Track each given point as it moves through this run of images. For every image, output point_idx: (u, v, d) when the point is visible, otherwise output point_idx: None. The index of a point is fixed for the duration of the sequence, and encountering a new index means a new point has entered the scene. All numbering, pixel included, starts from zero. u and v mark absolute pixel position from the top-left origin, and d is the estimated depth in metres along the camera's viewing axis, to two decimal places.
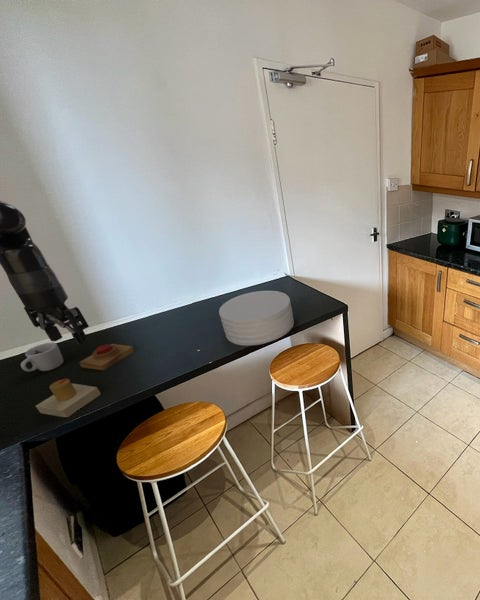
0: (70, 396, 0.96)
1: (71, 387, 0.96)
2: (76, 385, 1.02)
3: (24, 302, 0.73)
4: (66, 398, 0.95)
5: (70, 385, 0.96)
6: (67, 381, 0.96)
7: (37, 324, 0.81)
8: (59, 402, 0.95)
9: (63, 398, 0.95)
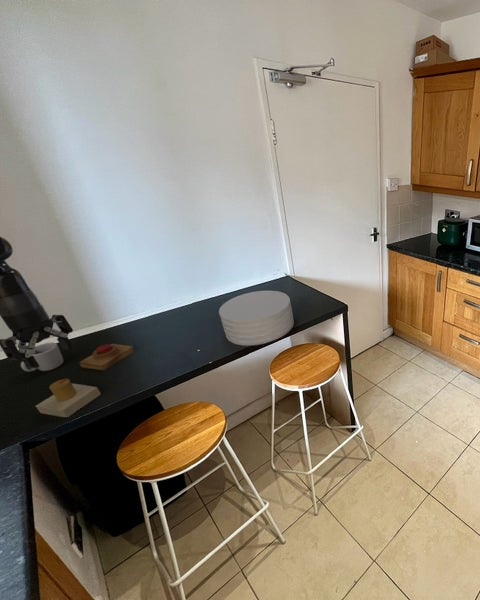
0: (70, 396, 0.96)
1: (71, 387, 0.96)
2: (76, 385, 1.02)
3: None
4: (66, 398, 0.95)
5: (70, 385, 0.96)
6: (67, 381, 0.96)
7: (61, 330, 0.92)
8: (59, 402, 0.95)
9: (63, 398, 0.95)
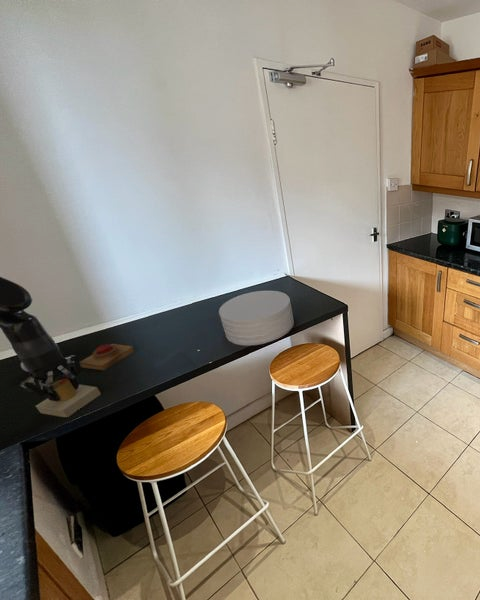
0: (70, 396, 0.96)
1: (71, 387, 0.96)
2: None
3: None
4: (66, 398, 0.95)
5: (70, 385, 0.96)
6: (67, 381, 0.96)
7: (70, 372, 0.98)
8: (59, 402, 0.95)
9: (63, 398, 0.95)
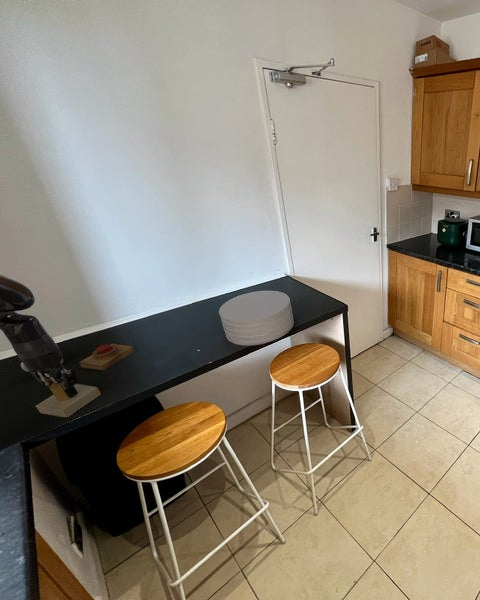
0: None
1: None
2: (76, 385, 1.02)
3: (26, 365, 0.87)
4: None
5: None
6: None
7: (43, 382, 0.94)
8: (59, 402, 0.95)
9: None
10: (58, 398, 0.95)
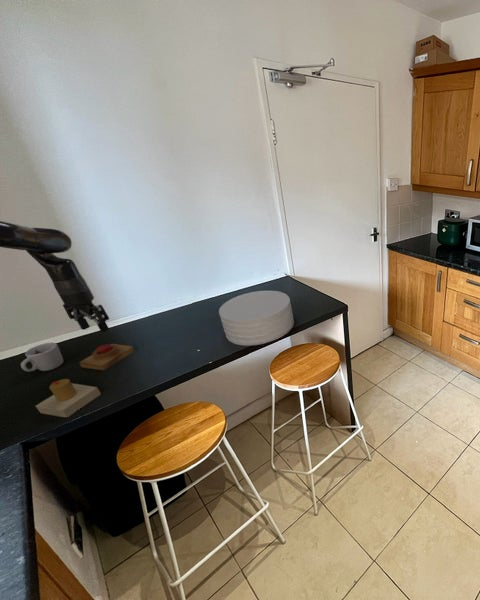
0: None
1: None
2: (76, 385, 1.02)
3: (64, 301, 1.03)
4: None
5: None
6: (60, 380, 0.96)
7: (72, 317, 1.10)
8: (59, 402, 0.95)
9: (75, 391, 0.98)
10: (58, 398, 0.95)
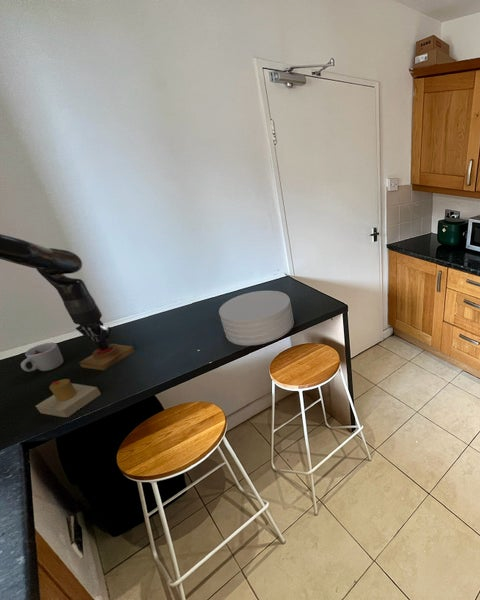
0: None
1: None
2: (76, 385, 1.02)
3: (74, 319, 1.07)
4: None
5: None
6: (60, 380, 0.96)
7: (90, 337, 1.14)
8: (59, 402, 0.95)
9: (75, 391, 0.98)
10: (58, 398, 0.95)
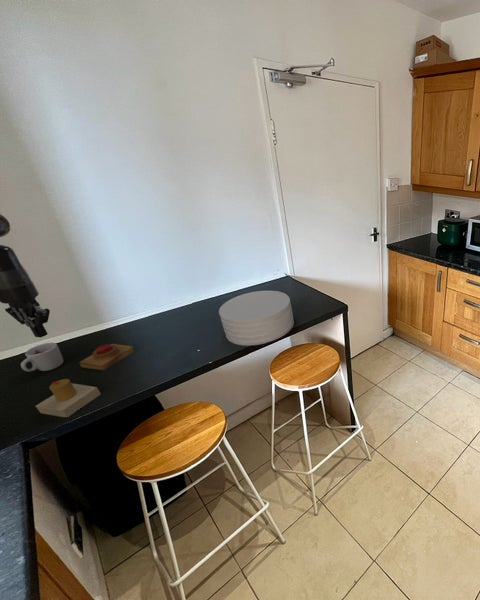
0: None
1: None
2: (76, 385, 1.02)
3: None
4: None
5: None
6: (60, 380, 0.96)
7: (23, 322, 0.92)
8: (59, 402, 0.95)
9: (75, 391, 0.98)
10: (58, 398, 0.95)
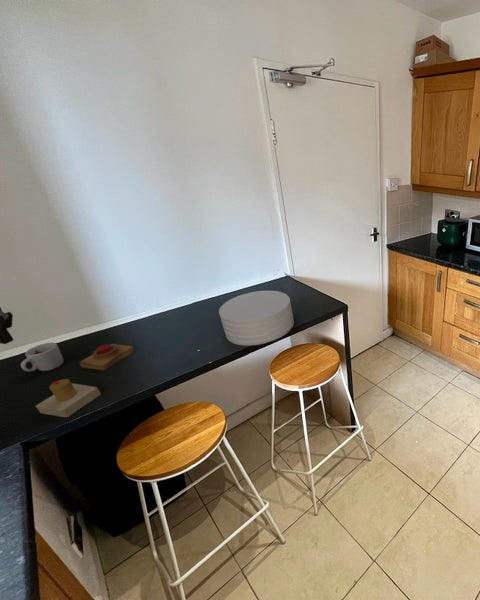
0: None
1: None
2: (76, 385, 1.02)
3: None
4: None
5: None
6: (60, 380, 0.96)
7: None
8: (59, 402, 0.95)
9: (75, 391, 0.98)
10: (58, 398, 0.95)
